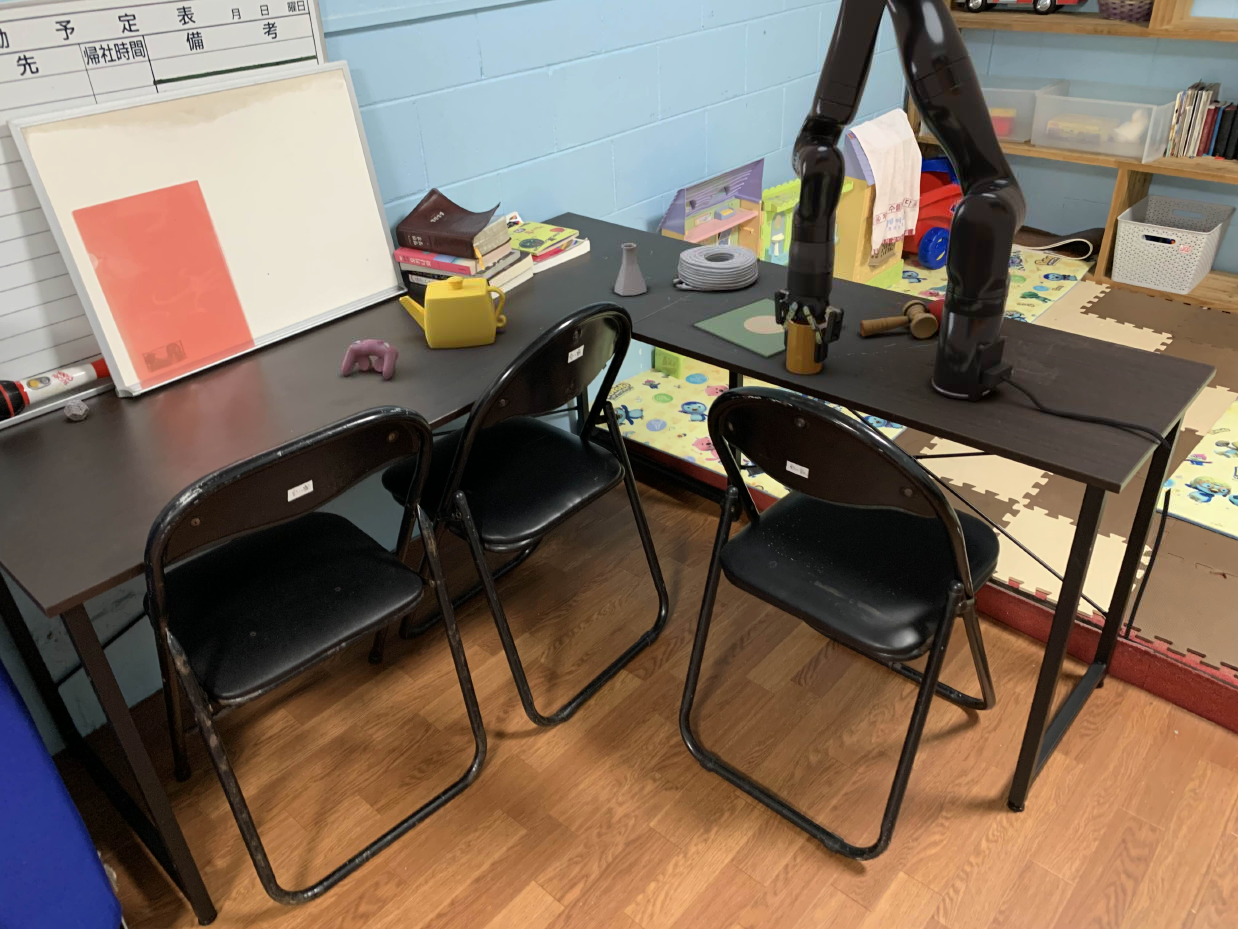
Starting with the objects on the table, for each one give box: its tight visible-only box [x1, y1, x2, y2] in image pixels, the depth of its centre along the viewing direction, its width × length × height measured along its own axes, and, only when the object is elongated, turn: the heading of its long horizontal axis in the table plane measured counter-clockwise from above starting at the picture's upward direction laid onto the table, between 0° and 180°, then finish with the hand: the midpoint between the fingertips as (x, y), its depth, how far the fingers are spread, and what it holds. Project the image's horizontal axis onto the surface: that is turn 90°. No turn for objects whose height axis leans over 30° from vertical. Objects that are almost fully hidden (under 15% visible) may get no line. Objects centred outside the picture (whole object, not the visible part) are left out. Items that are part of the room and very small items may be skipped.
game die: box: [63, 398, 90, 422], centre depth 158 cm, size 4×4×3 cm
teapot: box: [398, 275, 507, 349], centre depth 179 cm, size 20×12×12 cm, turn 96°
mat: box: [693, 298, 843, 358], centre depth 179 cm, size 20×20×1 cm
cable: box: [672, 244, 759, 292], centre depth 201 cm, size 18×18×6 cm
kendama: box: [859, 298, 945, 339], centre depth 173 cm, size 8×6×18 cm
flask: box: [614, 242, 648, 296], centre depth 197 cm, size 7×7×10 cm
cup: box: [785, 318, 824, 375], centre depth 161 cm, size 6×6×9 cm
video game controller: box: [341, 338, 399, 380], centre depth 168 cm, size 10×5×7 cm, turn 74°
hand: (805, 355), depth 162 cm, fingers closed on cup, 6 cm apart
